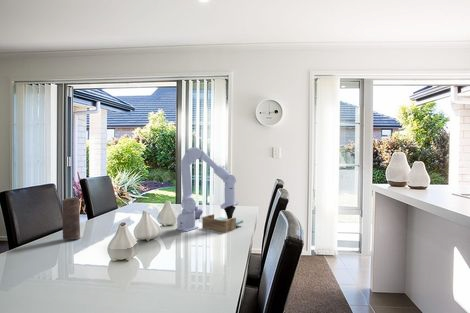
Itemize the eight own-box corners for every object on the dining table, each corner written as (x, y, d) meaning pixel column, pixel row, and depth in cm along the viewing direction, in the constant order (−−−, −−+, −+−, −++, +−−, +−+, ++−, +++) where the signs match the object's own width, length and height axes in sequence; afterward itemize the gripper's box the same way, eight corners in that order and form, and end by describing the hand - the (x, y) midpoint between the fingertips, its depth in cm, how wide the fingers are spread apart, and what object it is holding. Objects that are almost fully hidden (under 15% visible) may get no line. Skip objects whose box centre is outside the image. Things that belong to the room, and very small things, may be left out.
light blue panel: (236, 223, 166) (243, 220, 172) (212, 219, 175) (220, 216, 180) (236, 225, 166) (243, 222, 172) (212, 221, 175) (220, 218, 181)
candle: (72, 242, 143) (71, 199, 142) (58, 241, 144) (58, 198, 144) (83, 237, 150) (83, 196, 150) (70, 236, 152) (69, 196, 151)
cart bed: (226, 232, 158) (226, 220, 158) (202, 228, 167) (202, 217, 167) (236, 228, 166) (235, 217, 165) (212, 224, 175) (212, 214, 174)
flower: (199, 210, 183) (197, 200, 192) (186, 216, 183) (185, 206, 192) (205, 220, 188) (203, 211, 197) (192, 226, 188) (191, 216, 197)
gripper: (227, 197, 166) (228, 222, 166) (242, 194, 178) (242, 217, 178) (217, 196, 170) (217, 221, 170) (232, 193, 182) (232, 216, 182)
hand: (229, 219), depth 174 cm, fingers closed, pressing on light blue panel
